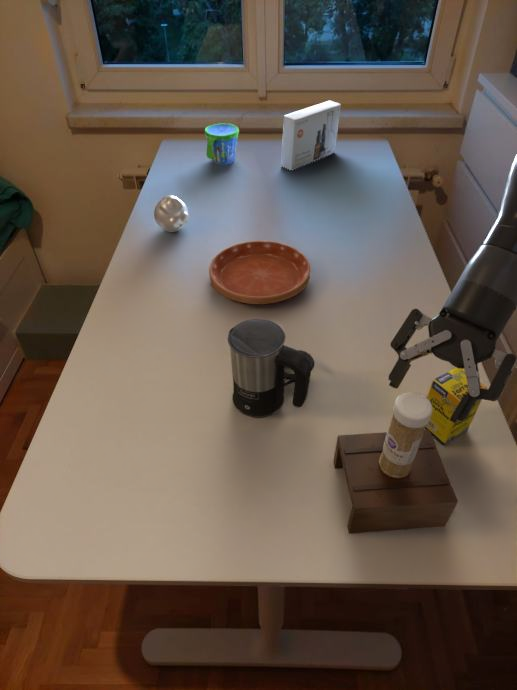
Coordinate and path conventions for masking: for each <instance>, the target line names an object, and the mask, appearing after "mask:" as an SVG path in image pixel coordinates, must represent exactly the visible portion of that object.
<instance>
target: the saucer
mask: <svg viewBox="0 0 517 690" xmlns="http://www.w3.org/2000/svg"><path fill="white" fill-rule="evenodd" d="M208 268H209V269H208V273H209V280H210V283H211V284H212V286H213V288H214V290H216V291H217V292H218V293H219V294H221V295H222V296H223V297H225V298H228V299H229V300H232V301H235V302H239V303H243V304H249V305H251V304H252V305H267V304H274V303H279V302H282V301H286V300H289V299H291V298H293V297H294V296H296V295H298V294H299V293H301V292H302V291H303V290H304V289H305V288H306V286H307V285H308V283H309V281H310V276H311V264H310V261H309V259H308V258H307V257H306V255H305V254H304V253H303V252H301V251H300V250H298V249H297V248H295V247H293V246H291V245H288V244H285V243H281V242H277V241H270V240H254V241H253V240H252V241H246V242H241V243H237V244H234V245H231V246H228V247H226V248H224V249H223V250H221V251H220V252H219V253H217V254H216V255H215V256H214V257H213V259H212V260H211V261H210V264H209V267H208Z"/></svg>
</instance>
